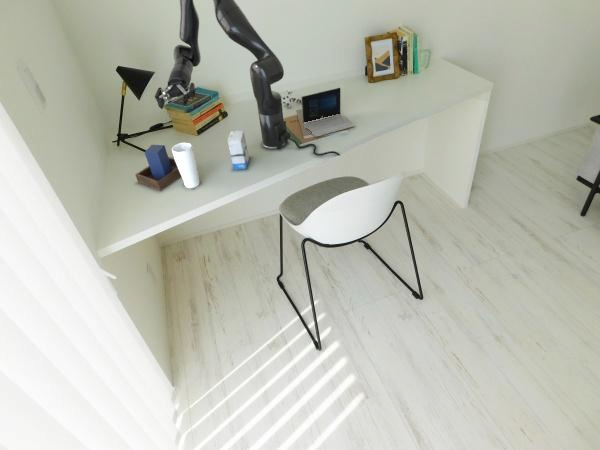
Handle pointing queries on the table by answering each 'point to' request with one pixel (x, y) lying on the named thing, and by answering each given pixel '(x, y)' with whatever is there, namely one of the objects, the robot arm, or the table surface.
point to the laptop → (323, 112)
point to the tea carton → (158, 161)
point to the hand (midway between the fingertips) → (172, 105)
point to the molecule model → (290, 99)
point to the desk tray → (159, 184)
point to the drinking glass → (186, 164)
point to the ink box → (238, 149)
